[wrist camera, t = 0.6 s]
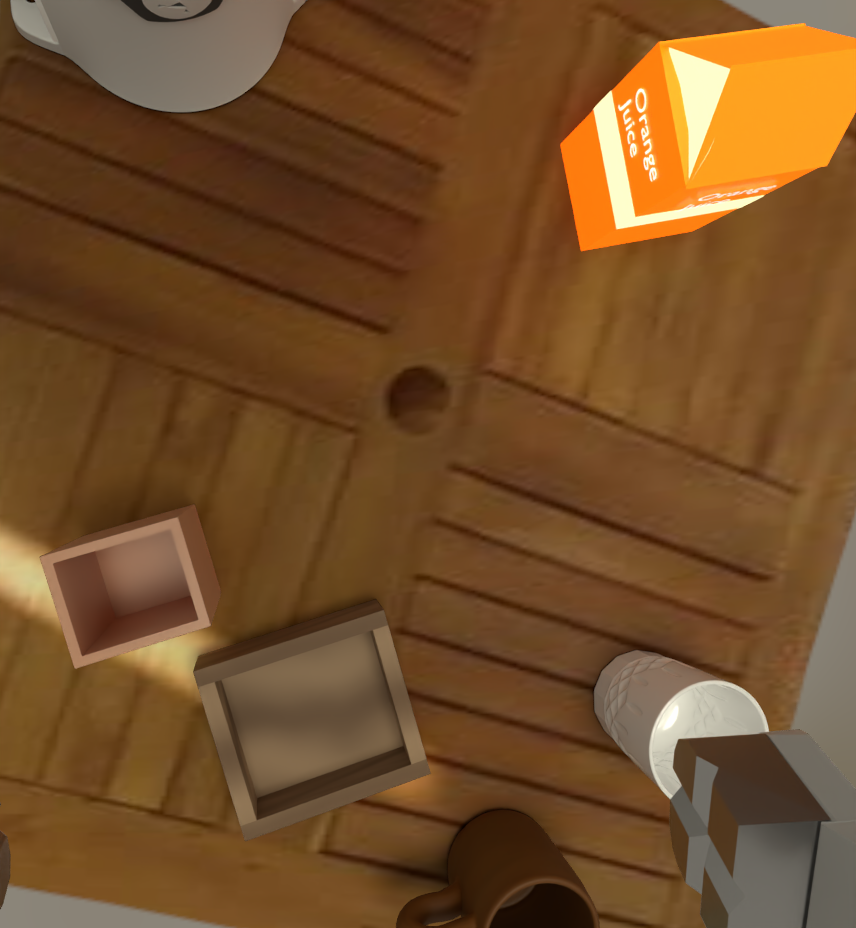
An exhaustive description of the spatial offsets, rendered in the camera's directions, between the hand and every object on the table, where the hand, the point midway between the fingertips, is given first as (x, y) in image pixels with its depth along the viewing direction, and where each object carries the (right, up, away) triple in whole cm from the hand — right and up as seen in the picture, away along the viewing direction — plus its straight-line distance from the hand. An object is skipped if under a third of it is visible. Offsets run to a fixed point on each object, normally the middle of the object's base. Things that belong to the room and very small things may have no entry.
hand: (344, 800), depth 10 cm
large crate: (-7, -12, +44) cm, 46 cm away
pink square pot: (-16, -2, +42) cm, 45 cm away
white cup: (+16, -13, +49) cm, 53 cm away
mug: (+4, -23, +47) cm, 52 cm away
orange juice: (+15, +23, +48) cm, 55 cm away
